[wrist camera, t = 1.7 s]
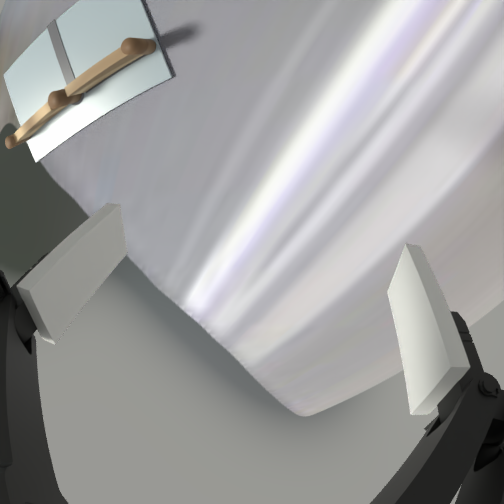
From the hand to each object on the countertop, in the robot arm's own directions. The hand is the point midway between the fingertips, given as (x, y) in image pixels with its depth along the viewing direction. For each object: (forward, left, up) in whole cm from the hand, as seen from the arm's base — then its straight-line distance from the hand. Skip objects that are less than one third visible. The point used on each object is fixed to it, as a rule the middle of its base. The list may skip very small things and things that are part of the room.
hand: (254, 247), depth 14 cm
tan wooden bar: (-16, -32, -23) cm, 43 cm away
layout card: (-20, -24, -23) cm, 39 cm away
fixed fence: (-16, -18, -23) cm, 34 cm away
